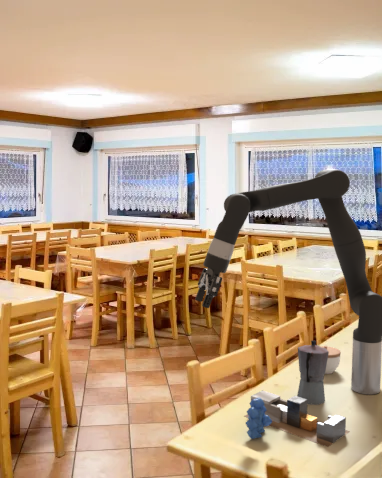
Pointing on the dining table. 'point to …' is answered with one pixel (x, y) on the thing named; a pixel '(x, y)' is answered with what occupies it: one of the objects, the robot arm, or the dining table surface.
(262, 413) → the grapes
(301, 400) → the grey block
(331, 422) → the socket
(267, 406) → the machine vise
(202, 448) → the dining table surface
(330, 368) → the lidded jar
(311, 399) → the moka pot
